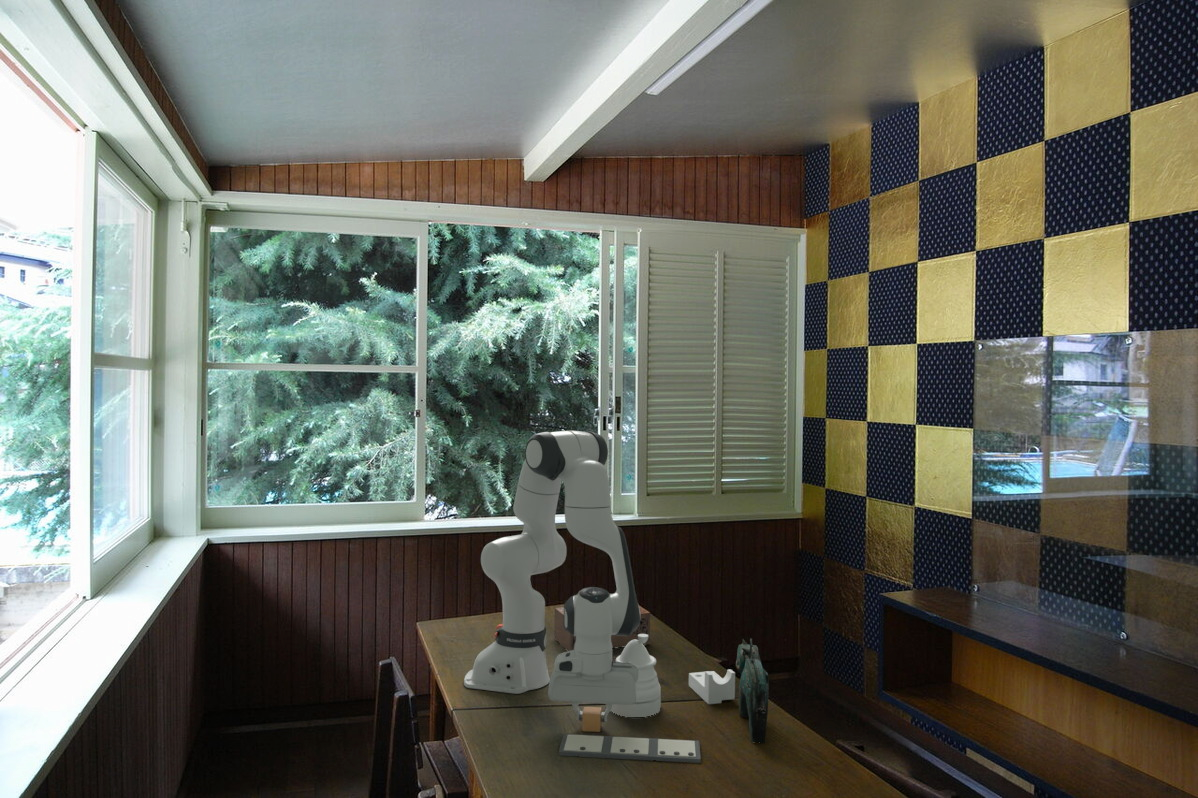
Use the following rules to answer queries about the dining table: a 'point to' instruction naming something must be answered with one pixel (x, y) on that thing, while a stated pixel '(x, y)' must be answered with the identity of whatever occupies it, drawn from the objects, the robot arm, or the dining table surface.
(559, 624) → the tissue box cover
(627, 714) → the honey pot
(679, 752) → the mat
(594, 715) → the block
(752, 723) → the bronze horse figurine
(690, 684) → the bracket
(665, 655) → the dining table surface
